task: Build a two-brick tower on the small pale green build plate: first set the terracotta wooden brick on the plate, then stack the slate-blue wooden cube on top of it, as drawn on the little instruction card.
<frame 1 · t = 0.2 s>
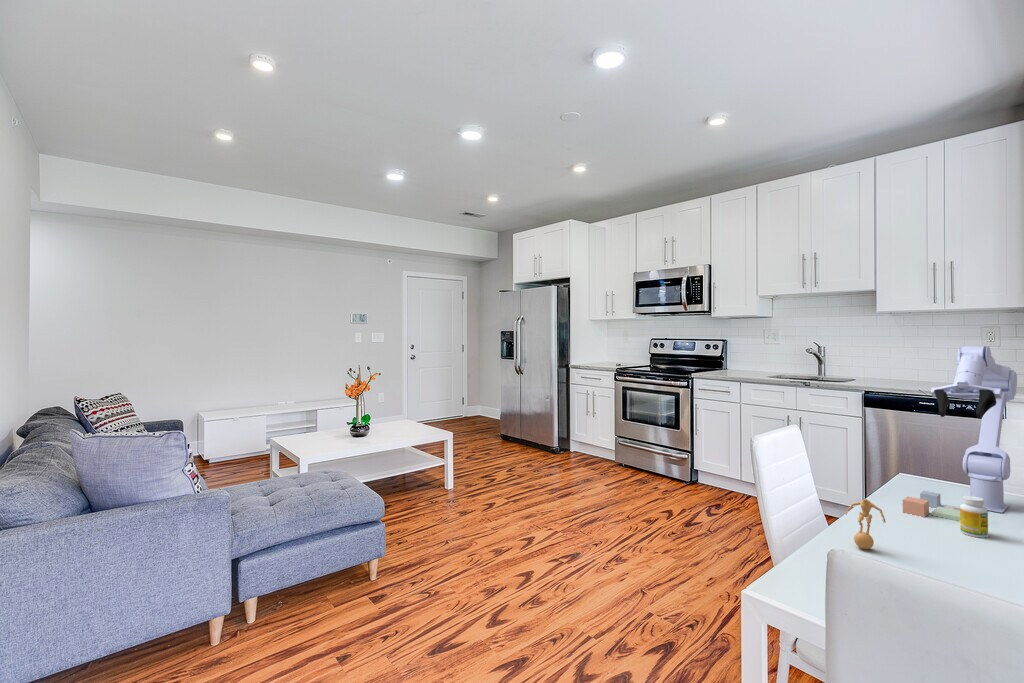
hand: (959, 415, 132), 31 cm above the table, tool tilted 45°, fingers open, 7 cm apart
slate brick: (930, 506, 151), on the table
supplement bottle: (974, 535, 129), on the table
figurine: (865, 548, 122), on the table
build plate: (950, 516, 142), on the table
terracotta brick: (915, 513, 145), on the table
instruction card: (956, 510, 146), on the table
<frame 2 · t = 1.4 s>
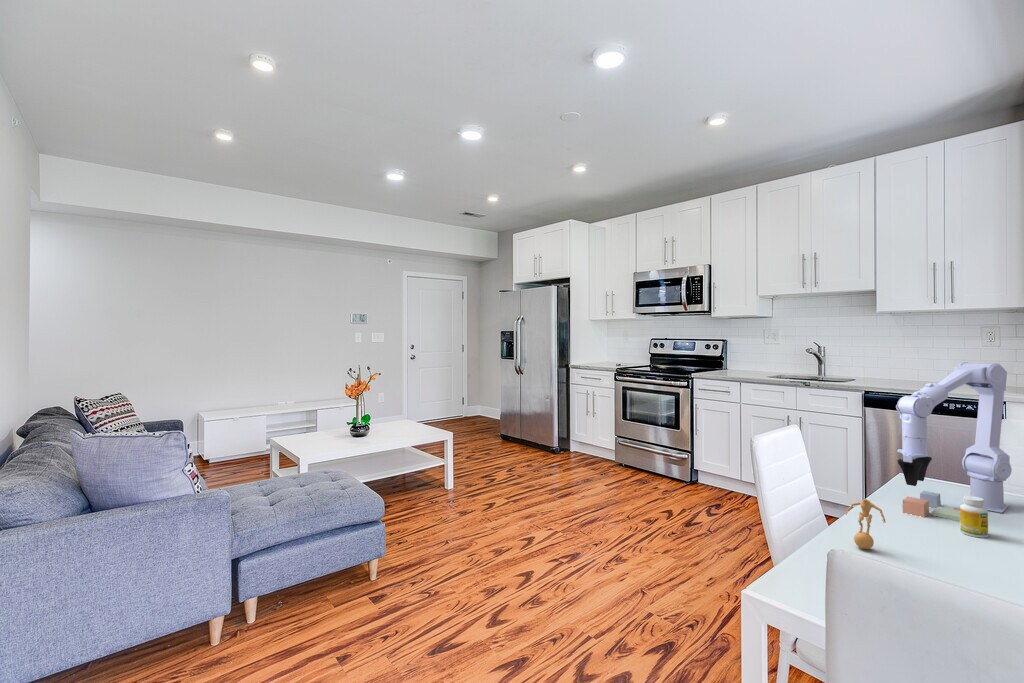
hand: (915, 482, 145), 9 cm above the table, tool pointing down, fingers open, 7 cm apart
nothing on the table moved.
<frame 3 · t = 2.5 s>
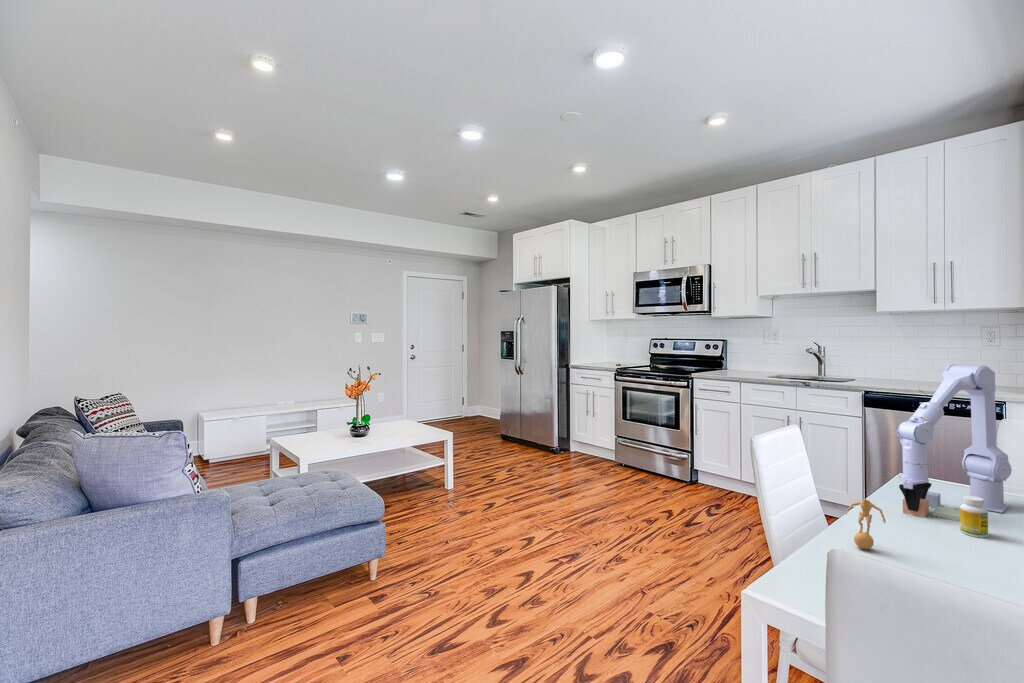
hand: (915, 508, 145), 1 cm above the table, tool pointing down, fingers closed on terracotta brick, 5 cm apart
terracotta brick: (915, 513, 145), on the table, touching gripper
everything else where it was.
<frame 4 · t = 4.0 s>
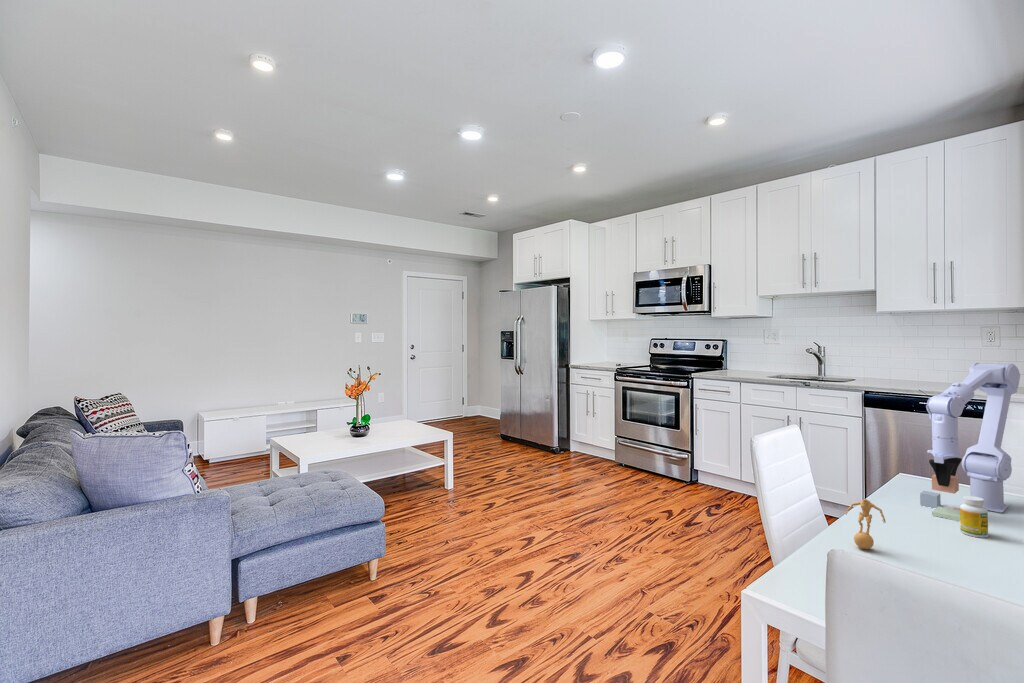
hand: (946, 483, 142), 9 cm above the table, tool pointing down, fingers closed on terracotta brick, 5 cm apart
terracotta brick: (945, 489, 142), point 7 cm above the table, touching gripper
everything else where it was.
when the fingers open (4 cm above the table, at t = 5.7 s): terracotta brick stays where it is, resting on build plate.
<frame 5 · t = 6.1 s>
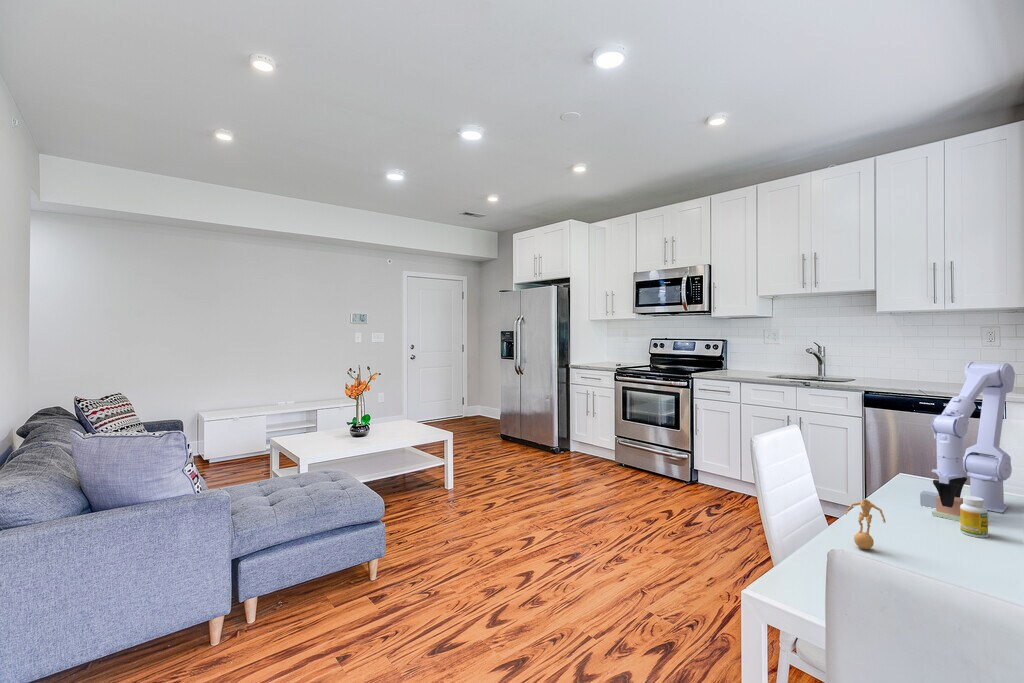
hand: (950, 503, 142), 4 cm above the table, tool pointing down, fingers open, 7 cm apart
terracotta brick: (949, 511, 142), point 1 cm above the table, touching build plate
everything else where it was.
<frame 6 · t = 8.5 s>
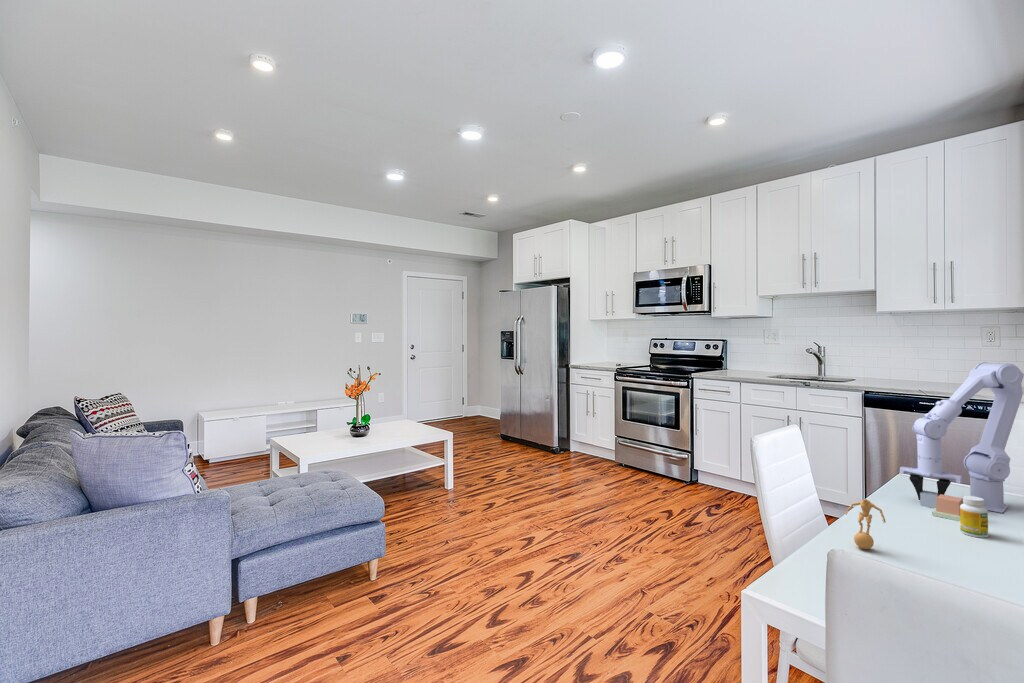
hand: (930, 501, 151), 1 cm above the table, tool pointing down, fingers closed on slate brick, 4 cm apart
slate brick: (930, 506, 151), on the table, touching gripper
everything else where it was.
when the fingers open (8 cm above the table, at t = 11.2 s): slate brick stays where it is, resting on terracotta brick.
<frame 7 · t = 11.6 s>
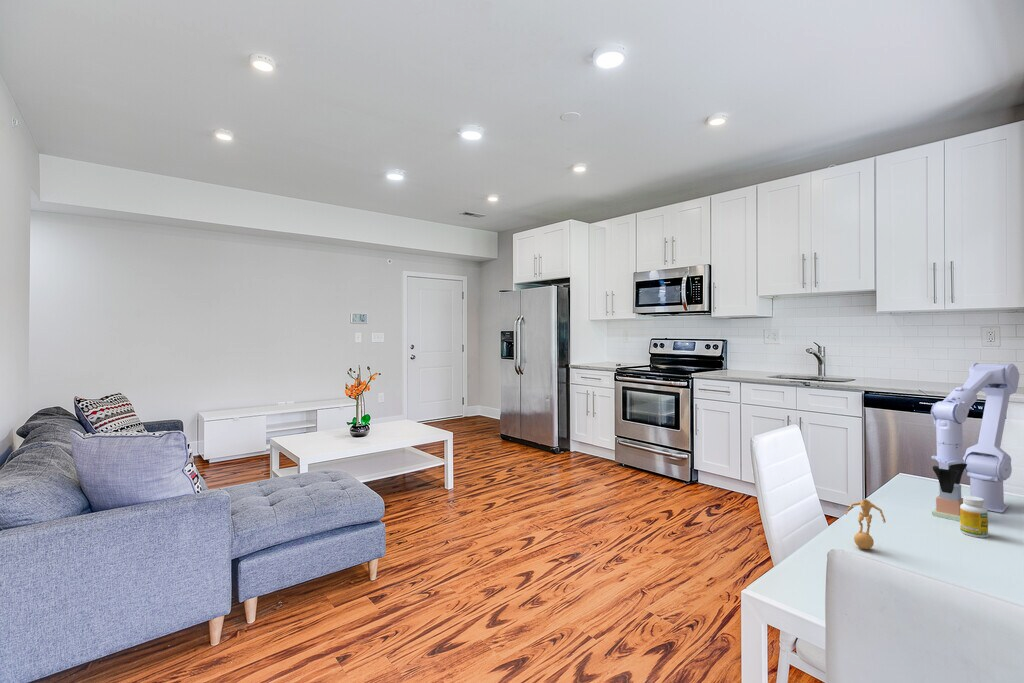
hand: (950, 489, 142), 8 cm above the table, tool pointing down, fingers open, 7 cm apart
slate brick: (950, 498, 142), point 5 cm above the table, touching terracotta brick
terracotta brick: (949, 511, 142), point 1 cm above the table, touching build plate, slate brick
everything else where it was.
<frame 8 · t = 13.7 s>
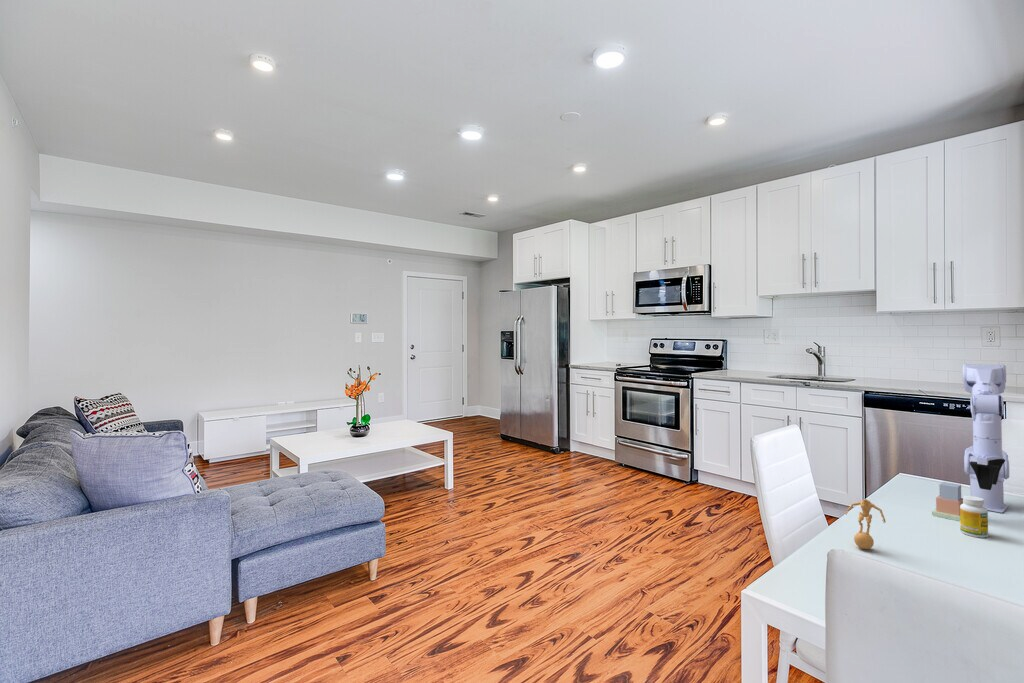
hand: (988, 486, 135), 10 cm above the table, tool pointing down, fingers open, 7 cm apart
nothing on the table moved.
at the end: terracotta brick 0.2 cm off-centre on the build plate, point 1.2 cm above the build plate's base; slate brick 0.2 cm off-centre on the terracotta brick, point 4.0 cm above the terracotta brick's base; slate brick tilted 0° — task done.
